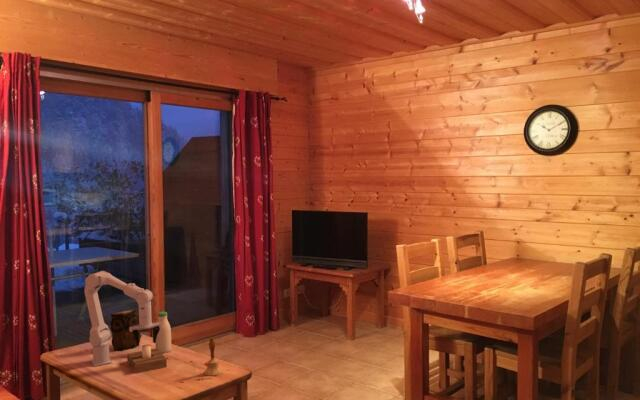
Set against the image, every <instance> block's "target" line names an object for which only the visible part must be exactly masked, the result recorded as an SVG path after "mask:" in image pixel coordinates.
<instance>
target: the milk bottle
mask: <svg viewBox="0 0 640 400" xmlns="http://www.w3.org/2000/svg"><path fill="white" fill-rule="evenodd" d="M157 318H158V319H157V323H158V322H161V327H159V328H160V330H159V332H158V335H157V338H156V343H155V348H157V349H158V350H159V351H160V352H161V353H162V354H166V353H169V352H171V351H172V329H171V325H170V324H171V323H170V322H169V321H168V312H167V311H160V312H158V313H157Z"/></svg>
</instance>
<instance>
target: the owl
mask: <svg viewBox="0 0 640 400" xmlns="http://www.w3.org/2000/svg"><path fill="white" fill-rule="evenodd" d="M110 318H111V321H110V331H111V334H112V335H111V346H112V347H113V351H114V352H123V351H129V350H133V349H136V348H137V347H139V346H137V344H136V340H135V337H134V335H133V333H132V332H130V331H129V327H132V326H136V325H139V315H138V313H137V309H136V308H135V309H132V310H124V311H120V312H115V313H113V312H111V314H110ZM138 332H139V344H140V342H141V339H142V333H141V330H138Z"/></svg>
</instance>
